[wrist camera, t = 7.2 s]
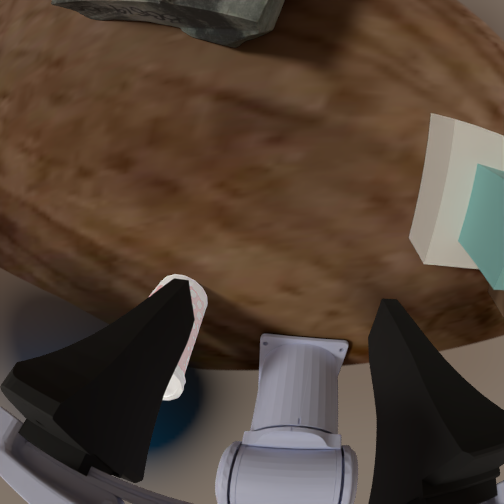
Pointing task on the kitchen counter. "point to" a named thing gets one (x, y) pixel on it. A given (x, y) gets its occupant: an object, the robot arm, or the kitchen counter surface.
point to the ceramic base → (450, 187)
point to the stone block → (190, 16)
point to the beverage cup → (199, 309)
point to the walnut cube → (497, 298)
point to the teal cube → (486, 225)
